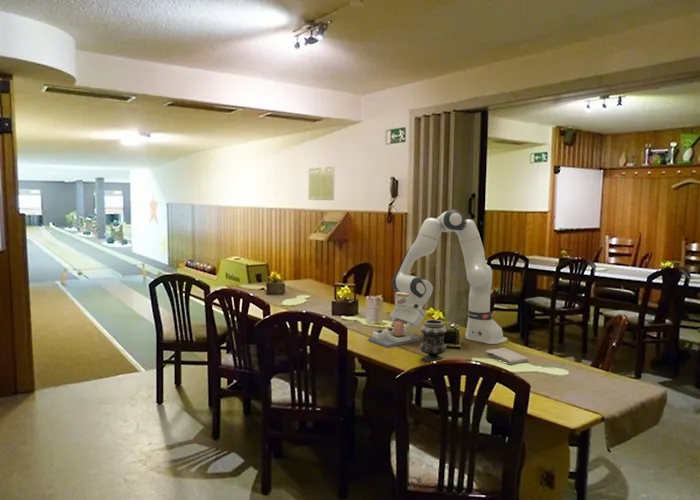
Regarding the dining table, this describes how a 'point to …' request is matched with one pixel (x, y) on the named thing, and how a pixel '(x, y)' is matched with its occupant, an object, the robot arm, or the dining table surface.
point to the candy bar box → (401, 298)
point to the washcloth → (506, 356)
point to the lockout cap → (398, 329)
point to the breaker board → (391, 338)
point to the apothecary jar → (433, 340)
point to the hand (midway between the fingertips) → (397, 328)
